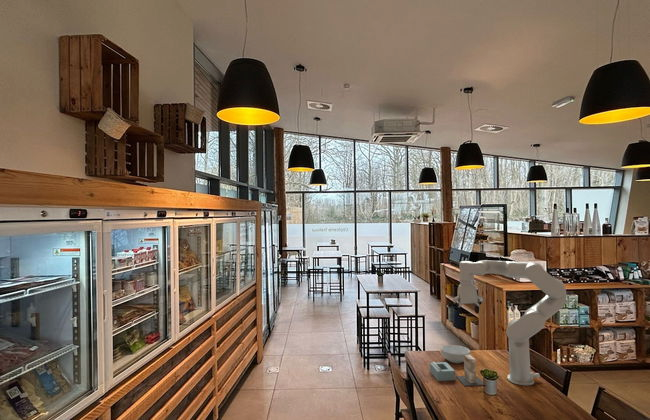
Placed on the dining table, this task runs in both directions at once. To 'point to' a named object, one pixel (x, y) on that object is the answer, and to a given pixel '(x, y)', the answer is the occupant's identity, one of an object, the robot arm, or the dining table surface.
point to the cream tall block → (470, 368)
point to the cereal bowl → (454, 353)
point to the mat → (467, 383)
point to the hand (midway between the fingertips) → (468, 313)
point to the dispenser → (442, 371)
